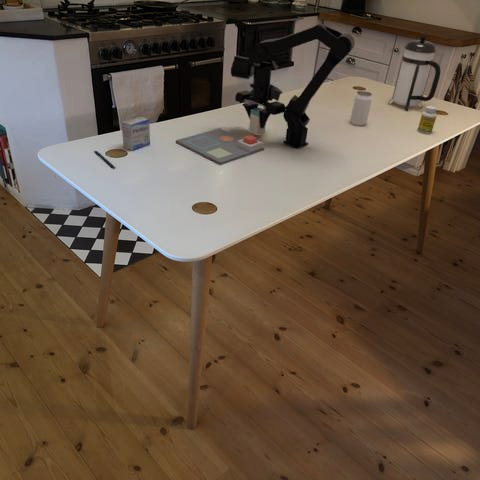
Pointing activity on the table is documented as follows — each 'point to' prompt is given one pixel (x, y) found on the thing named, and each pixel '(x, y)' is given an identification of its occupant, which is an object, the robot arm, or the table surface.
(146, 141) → the medicine box
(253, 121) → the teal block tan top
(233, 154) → the picture board
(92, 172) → the table surface
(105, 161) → the pencil
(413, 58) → the coffee press
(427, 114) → the supplement bottle
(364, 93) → the can
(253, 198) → the table surface
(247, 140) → the button
